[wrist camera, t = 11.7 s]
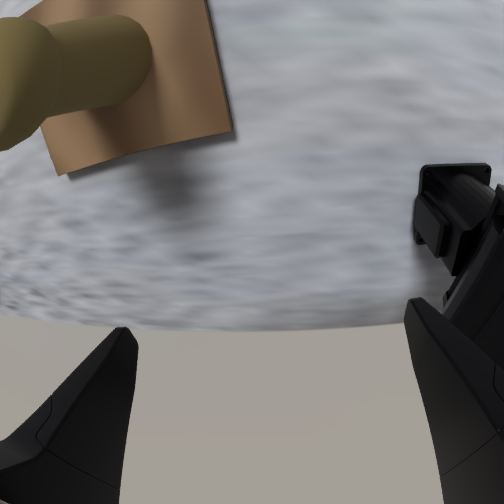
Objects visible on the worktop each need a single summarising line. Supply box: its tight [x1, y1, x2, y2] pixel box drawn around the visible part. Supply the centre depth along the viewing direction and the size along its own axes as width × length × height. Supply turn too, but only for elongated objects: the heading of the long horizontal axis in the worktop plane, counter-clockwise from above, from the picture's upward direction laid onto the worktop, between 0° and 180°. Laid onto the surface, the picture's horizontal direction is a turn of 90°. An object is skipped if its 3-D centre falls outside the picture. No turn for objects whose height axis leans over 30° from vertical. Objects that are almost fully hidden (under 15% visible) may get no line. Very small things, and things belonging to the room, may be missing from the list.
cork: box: [0, 14, 152, 151], centre depth 10 cm, size 6×6×11 cm
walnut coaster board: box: [20, 0, 233, 176], centre depth 15 cm, size 13×13×1 cm
